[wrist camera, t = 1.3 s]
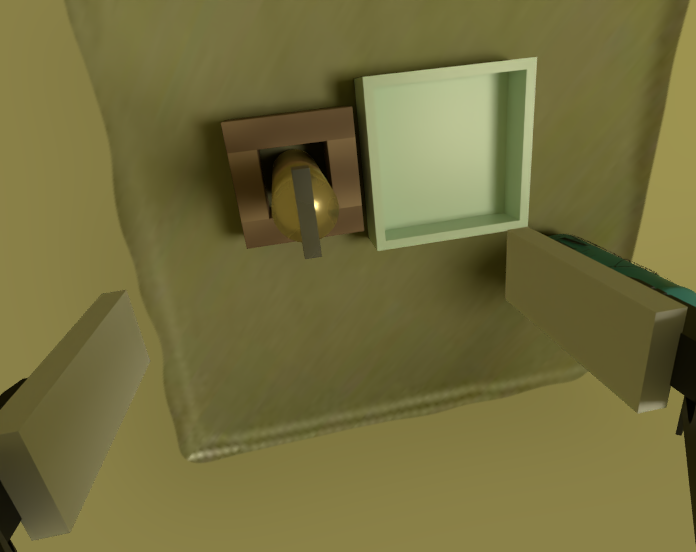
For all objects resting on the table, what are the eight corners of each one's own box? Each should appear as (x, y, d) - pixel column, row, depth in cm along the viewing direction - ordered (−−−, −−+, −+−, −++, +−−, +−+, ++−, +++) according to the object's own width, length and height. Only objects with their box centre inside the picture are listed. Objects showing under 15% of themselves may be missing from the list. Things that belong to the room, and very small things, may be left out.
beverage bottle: (548, 294, 48) (718, 416, 30) (503, 269, 46) (655, 383, 28) (586, 243, 46) (790, 340, 28) (541, 215, 44) (730, 298, 26)
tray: (353, 78, 37) (362, 76, 33) (511, 60, 38) (537, 57, 35) (368, 237, 42) (377, 251, 39) (506, 216, 44) (527, 227, 40)
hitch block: (225, 120, 36) (220, 122, 33) (344, 105, 37) (352, 106, 34) (249, 234, 40) (247, 248, 37) (356, 218, 41) (364, 230, 38)
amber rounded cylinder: (267, 145, 38) (263, 174, 24) (313, 139, 38) (336, 164, 24) (277, 204, 40) (279, 263, 26) (321, 198, 40) (346, 252, 26)
